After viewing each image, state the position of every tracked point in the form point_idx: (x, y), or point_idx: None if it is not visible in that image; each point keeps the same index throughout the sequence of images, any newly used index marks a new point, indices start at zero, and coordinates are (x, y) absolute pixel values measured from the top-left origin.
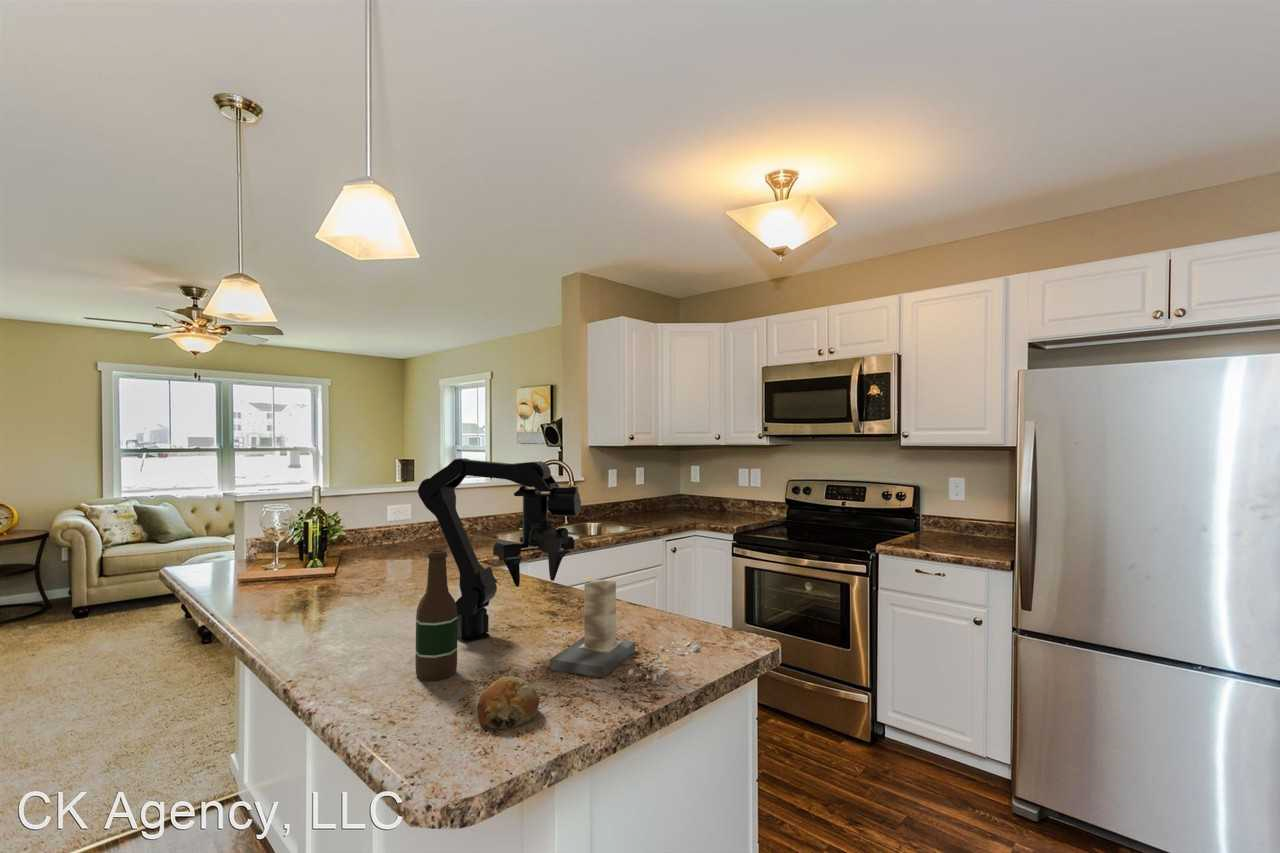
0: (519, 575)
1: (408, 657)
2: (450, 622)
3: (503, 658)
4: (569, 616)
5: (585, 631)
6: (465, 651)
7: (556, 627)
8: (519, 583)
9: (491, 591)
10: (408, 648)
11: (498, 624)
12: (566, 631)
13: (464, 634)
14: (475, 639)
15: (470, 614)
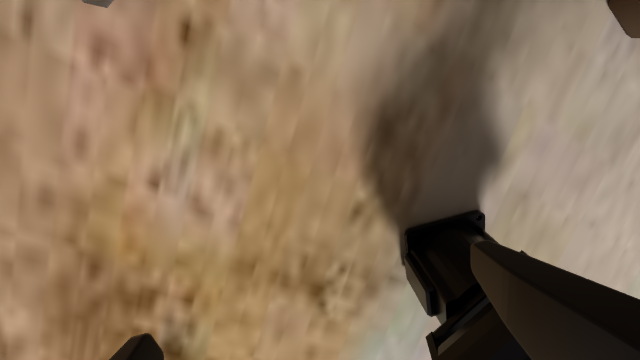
0: (567, 303)
1: (629, 159)
2: None
3: (445, 14)
4: (127, 326)
5: None
6: (505, 141)
7: (191, 245)
8: (490, 254)
9: (490, 349)
10: (594, 223)
11: (347, 317)
12: (164, 195)
13: (482, 235)
14: (449, 218)
15: (528, 255)
